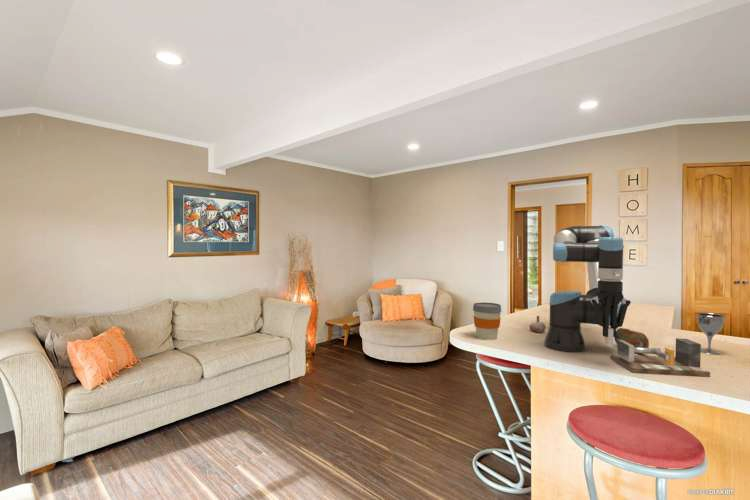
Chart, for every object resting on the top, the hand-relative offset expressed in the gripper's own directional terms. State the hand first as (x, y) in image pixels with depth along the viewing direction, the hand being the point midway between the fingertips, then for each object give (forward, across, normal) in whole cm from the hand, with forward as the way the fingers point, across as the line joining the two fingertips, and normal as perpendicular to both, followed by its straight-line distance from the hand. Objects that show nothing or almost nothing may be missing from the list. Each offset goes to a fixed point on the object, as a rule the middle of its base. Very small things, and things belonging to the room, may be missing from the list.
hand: (609, 345), depth 132 cm
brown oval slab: (+7, +17, +20) cm, 27 cm away
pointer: (+4, +16, -5) cm, 18 cm away
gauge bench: (+7, +16, 0) cm, 17 cm away
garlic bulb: (+7, -12, +47) cm, 49 cm away
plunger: (+4, +11, -1) cm, 11 cm away
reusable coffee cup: (+7, -38, +32) cm, 50 cm away
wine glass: (+7, +47, +23) cm, 53 cm away
